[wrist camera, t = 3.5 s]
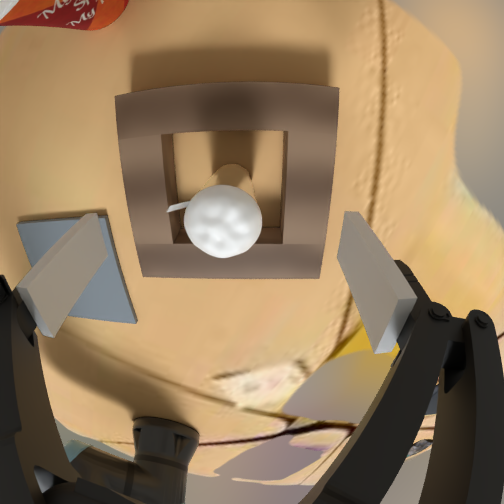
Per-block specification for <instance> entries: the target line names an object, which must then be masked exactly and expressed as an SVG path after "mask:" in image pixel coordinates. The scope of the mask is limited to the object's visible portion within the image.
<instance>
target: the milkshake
mask: <svg viewBox="0 0 504 504" xmlns="http://www.w3.org/2000/svg"><path fill="white" fill-rule="evenodd" d="M185 207H187V208H186V211H185V215H184V226H185V230H186V232H187V235H188V237H189V238H190V240H191V241H192V243H193V244H194V245H195V246H196V247H198V248H199V249H201V250H202V251H204V252H205V253H207V254H209V255H211V256H214V257H218V258H228V257H232V256H235V255H238V254H241V253H244V252H246V251H247V250H248V249H249V248H251V246H252V245H253V244H254V243H255V242H256V240H257V239H258V237H259V235H260V232H261V228H262V215H261V211H260V208H259V205H258V202H257V199H256V197H255V193H254V189H253V184H252V181H251V178H250V175H249V173H248V171H247V170H246V169H244V168H243V167H241V166H240V165H238V164H225V165H223V166H222V167H221V168H220V169H218V170H217V171H216V172H215V173H214V174H213V175H212V176H211V178H210V179H209V180H208V181H207V182H206V184H205V185H204V186H203V187H202V188H201V189H200V190H199V191H198V192H197V194H196V195H195V196H194V197H193V198H192V199H191V200H190V201H186V202H182V203H178V204H174V205H171V206H169V207H168V209H167V211H166V213H168V212H171V211H175V210H178V209H182V208H185Z"/></svg>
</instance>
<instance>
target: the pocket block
mask: <svg viewBox="0 0 504 504" xmlns="http://www.w3.org/2000/svg"><path fill="white" fill-rule="evenodd" d="M115 107H116V121H117V133H118V142H119V151H120V160H121V167H122V174H123V181H124V188H125V194H126V200H127V205H128V211H129V216H130V221H131V226H132V231H133V236H134V241H135V245H136V250H137V254H138V258H139V263H140V267H141V271H142V275H143V277H161V278H207V279H319V277H320V272H321V265H322V259H323V253H324V246H325V240H326V233H327V225H328V218H329V210H330V202H331V193H332V184H333V174H334V164H335V153H336V140H337V126H338V109H339V88H338V87H330V86H321V85H311V84H299V83H282V82H219V83H202V84H190V85H180V86H171V87H164V88H156V89H150V90H144V91H138V92H132V93H127V94H122V95H117V96H115ZM225 130H274V131H284V139H283V168H282V192H281V213H280V227H262V228H261V232H260V235H259V237H258V239H257V240H256V242H255V243H254V244H253V245H252V246H251V248H249V249H248V250H247V251H246V252H244V253H241V254H238V255H235V256H232V257H228V258H218V257H214V256H211V255H209V254H207V253H205V252H204V251H202V250H201V249H199V248H198V247H196V246H195V245H194V244H193V243H192V241H191V240H190V238H189V237H188V235H187V232H186V230H185V228H181V224H180V215H179V209H178V210H175V211H171V212H168V213H166V211H167V209H168V207H169V206H171V205H174V204H178V197H177V187H176V177H175V165H174V153H173V139H172V133H185V132H200V131H225Z"/></svg>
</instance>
